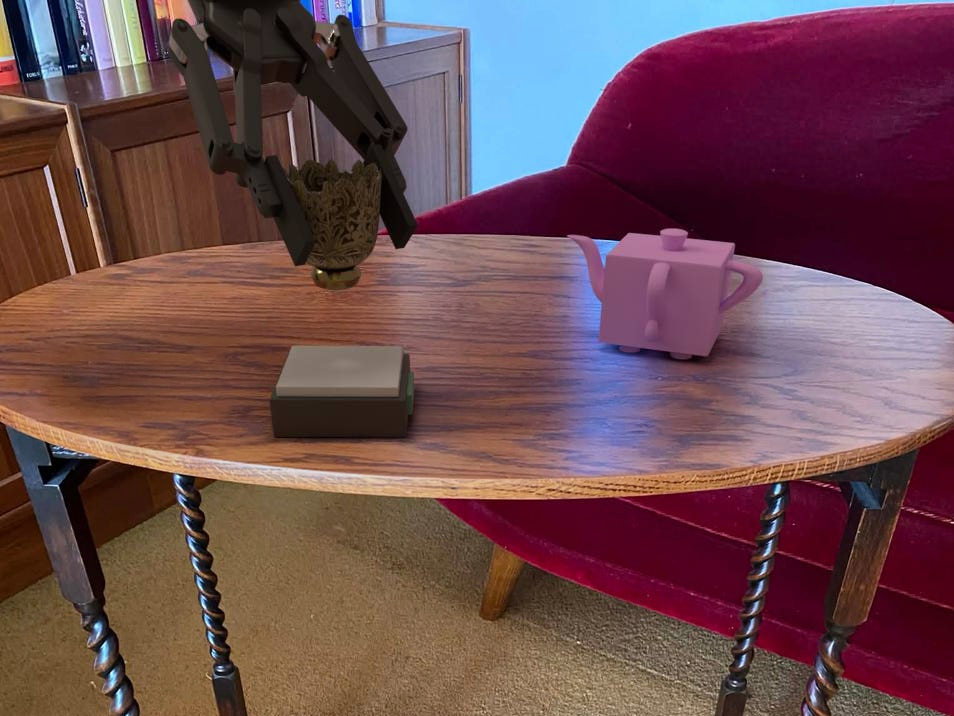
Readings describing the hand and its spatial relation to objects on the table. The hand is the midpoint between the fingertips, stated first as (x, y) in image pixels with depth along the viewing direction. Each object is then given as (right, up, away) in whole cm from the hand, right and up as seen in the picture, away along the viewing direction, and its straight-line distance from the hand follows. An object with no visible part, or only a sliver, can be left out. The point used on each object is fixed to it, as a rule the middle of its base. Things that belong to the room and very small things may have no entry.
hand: (357, 245), depth 67 cm
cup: (-2, -1, +4) cm, 5 cm away
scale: (-2, -9, +10) cm, 14 cm away
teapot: (+25, +1, +24) cm, 35 cm away
